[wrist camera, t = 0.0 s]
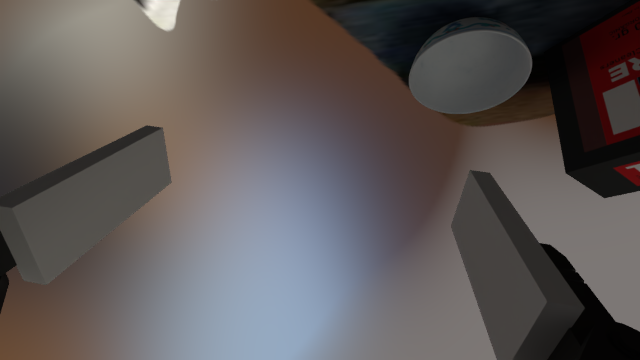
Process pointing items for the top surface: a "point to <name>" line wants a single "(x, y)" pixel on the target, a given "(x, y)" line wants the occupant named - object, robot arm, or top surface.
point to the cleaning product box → (600, 101)
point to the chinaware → (470, 66)
